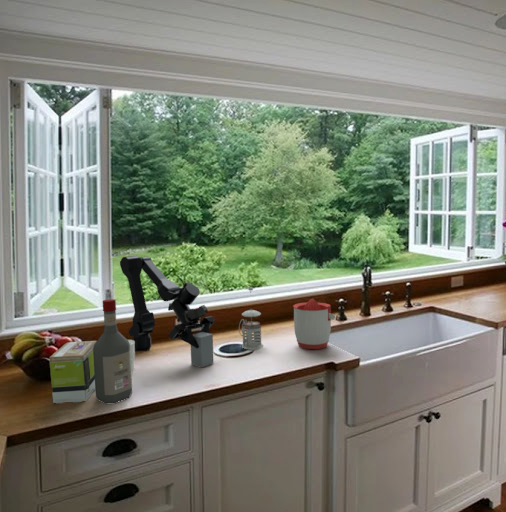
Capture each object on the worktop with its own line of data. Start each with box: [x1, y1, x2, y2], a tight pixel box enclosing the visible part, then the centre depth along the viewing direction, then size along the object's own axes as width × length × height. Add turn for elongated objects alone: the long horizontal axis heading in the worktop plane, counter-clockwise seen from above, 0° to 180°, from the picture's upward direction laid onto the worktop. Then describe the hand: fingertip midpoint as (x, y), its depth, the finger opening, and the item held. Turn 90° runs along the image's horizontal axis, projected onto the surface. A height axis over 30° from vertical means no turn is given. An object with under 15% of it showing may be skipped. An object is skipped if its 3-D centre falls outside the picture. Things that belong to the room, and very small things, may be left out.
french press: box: [238, 286, 265, 350], centre depth 174 cm, size 10×12×25 cm
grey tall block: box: [190, 331, 214, 368], centre depth 154 cm, size 6×6×11 cm
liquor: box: [93, 298, 133, 404], centre depth 126 cm, size 9×9×30 cm
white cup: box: [127, 339, 136, 372], centre depth 151 cm, size 8×8×10 cm
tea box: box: [49, 340, 97, 404], centre depth 131 cm, size 15×10×15 cm, turn 5°
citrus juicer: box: [292, 298, 336, 350], centre depth 173 cm, size 16×17×20 cm
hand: (204, 345), depth 153 cm, fingers closed on grey tall block, 6 cm apart
